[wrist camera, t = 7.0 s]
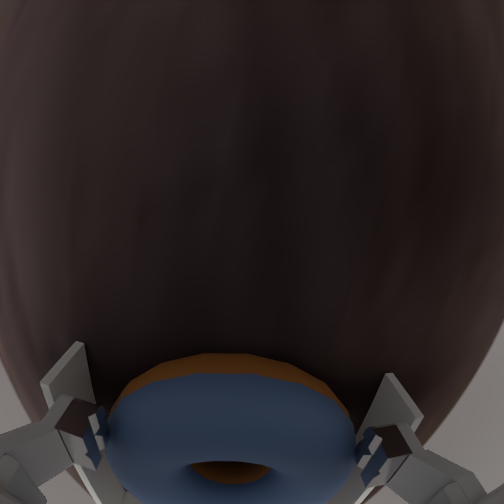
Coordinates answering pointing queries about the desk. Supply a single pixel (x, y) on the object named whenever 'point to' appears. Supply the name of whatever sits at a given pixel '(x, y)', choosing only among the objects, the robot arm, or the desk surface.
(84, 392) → the box
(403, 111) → the desk surface
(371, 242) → the desk surface
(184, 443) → the doughnut
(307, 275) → the desk surface
